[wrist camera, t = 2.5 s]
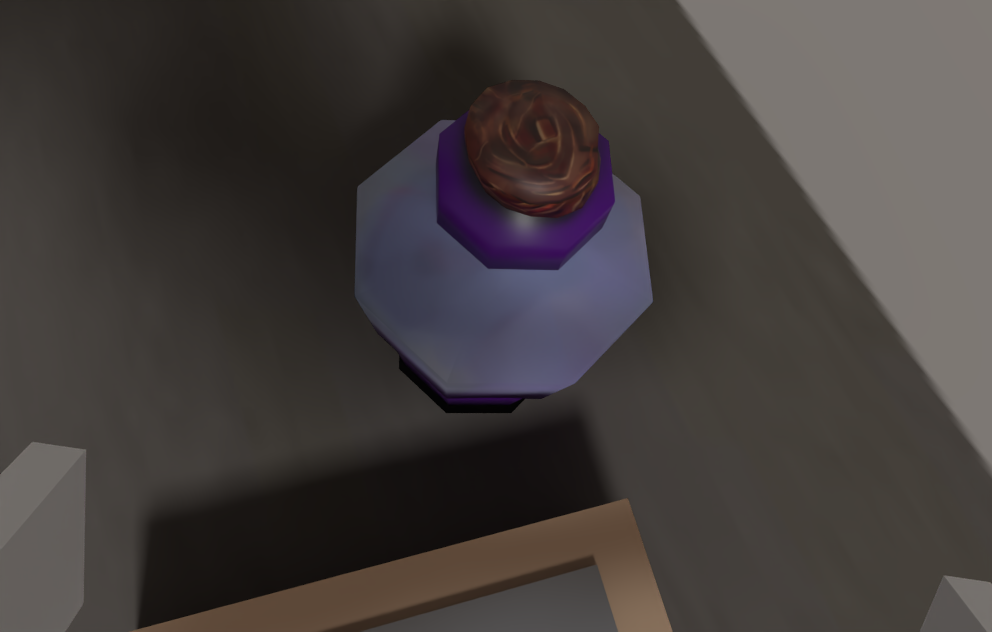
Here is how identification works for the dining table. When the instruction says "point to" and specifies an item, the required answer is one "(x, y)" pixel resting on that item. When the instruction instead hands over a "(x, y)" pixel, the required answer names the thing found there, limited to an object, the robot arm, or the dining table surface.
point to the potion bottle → (501, 250)
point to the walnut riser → (476, 587)
